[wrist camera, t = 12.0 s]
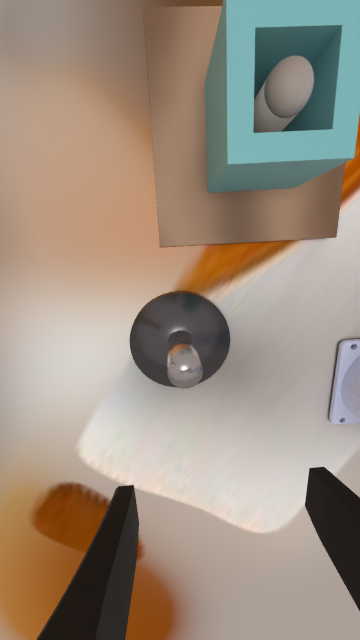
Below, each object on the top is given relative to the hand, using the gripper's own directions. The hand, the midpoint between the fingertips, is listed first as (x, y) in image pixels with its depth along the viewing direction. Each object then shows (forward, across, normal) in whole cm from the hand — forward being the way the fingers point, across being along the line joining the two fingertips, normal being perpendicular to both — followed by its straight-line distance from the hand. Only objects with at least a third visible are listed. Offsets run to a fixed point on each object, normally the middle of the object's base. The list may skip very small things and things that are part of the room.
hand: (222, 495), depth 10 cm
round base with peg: (+10, +1, -3) cm, 11 cm away
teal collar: (+9, -4, -16) cm, 19 cm away
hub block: (+10, -4, -16) cm, 19 cm away
